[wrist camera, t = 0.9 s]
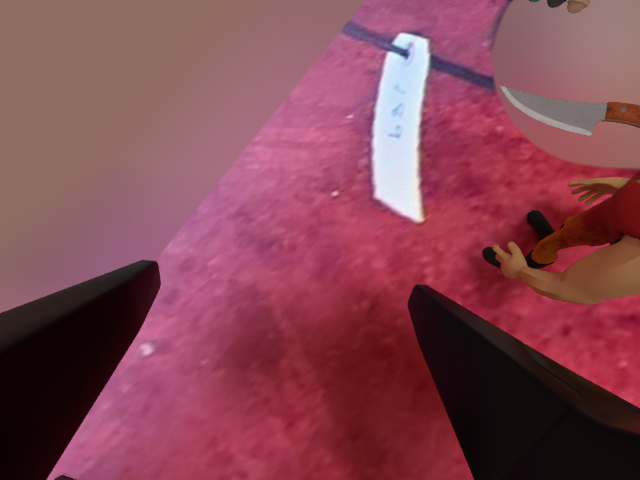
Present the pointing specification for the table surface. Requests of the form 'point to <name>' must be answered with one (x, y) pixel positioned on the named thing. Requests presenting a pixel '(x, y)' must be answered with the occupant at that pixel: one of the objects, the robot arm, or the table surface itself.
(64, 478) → the tray
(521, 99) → the knife
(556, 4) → the beads
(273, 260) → the table surface
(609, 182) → the action figure
